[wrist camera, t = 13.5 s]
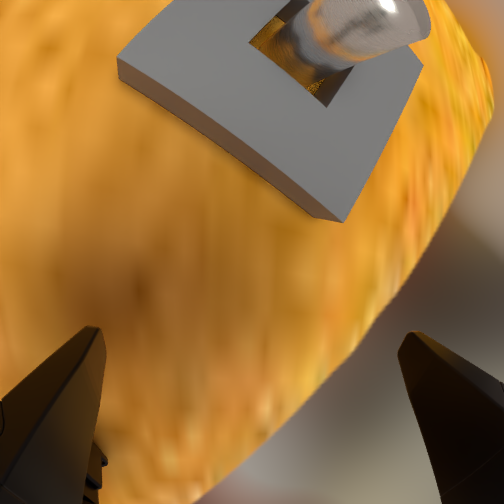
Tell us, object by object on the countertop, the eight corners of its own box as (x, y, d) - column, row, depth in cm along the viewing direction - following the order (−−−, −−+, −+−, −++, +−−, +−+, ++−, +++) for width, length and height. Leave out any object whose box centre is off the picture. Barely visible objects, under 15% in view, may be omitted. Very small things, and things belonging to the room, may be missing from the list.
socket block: (313, 217, 22) (343, 223, 18) (118, 78, 15) (116, 56, 12) (395, 73, 22) (423, 65, 19) (258, -47, 16) (276, -70, 12)
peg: (253, 82, 18) (362, 8, 8) (261, 30, 17) (357, -54, 7) (310, 98, 20) (434, 56, 10) (315, 48, 19) (425, -9, 9)
